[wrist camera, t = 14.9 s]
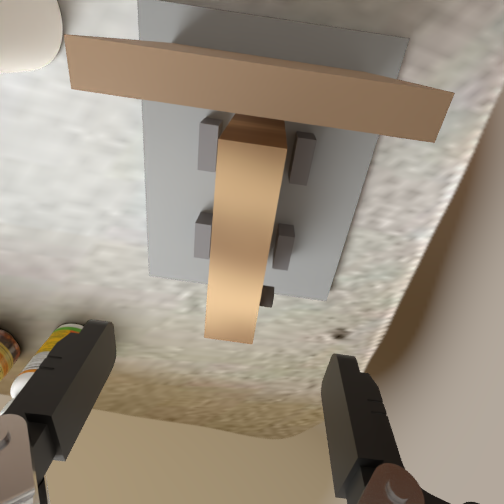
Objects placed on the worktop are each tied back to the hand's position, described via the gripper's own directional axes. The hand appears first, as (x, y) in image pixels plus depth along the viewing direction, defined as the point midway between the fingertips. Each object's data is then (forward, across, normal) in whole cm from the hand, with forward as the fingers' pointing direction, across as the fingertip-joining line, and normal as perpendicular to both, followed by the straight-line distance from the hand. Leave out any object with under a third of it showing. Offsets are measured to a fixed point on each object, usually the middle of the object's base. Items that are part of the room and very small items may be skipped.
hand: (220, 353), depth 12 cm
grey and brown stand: (+16, 0, 0) cm, 16 cm away
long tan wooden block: (+15, 0, 0) cm, 15 cm away
